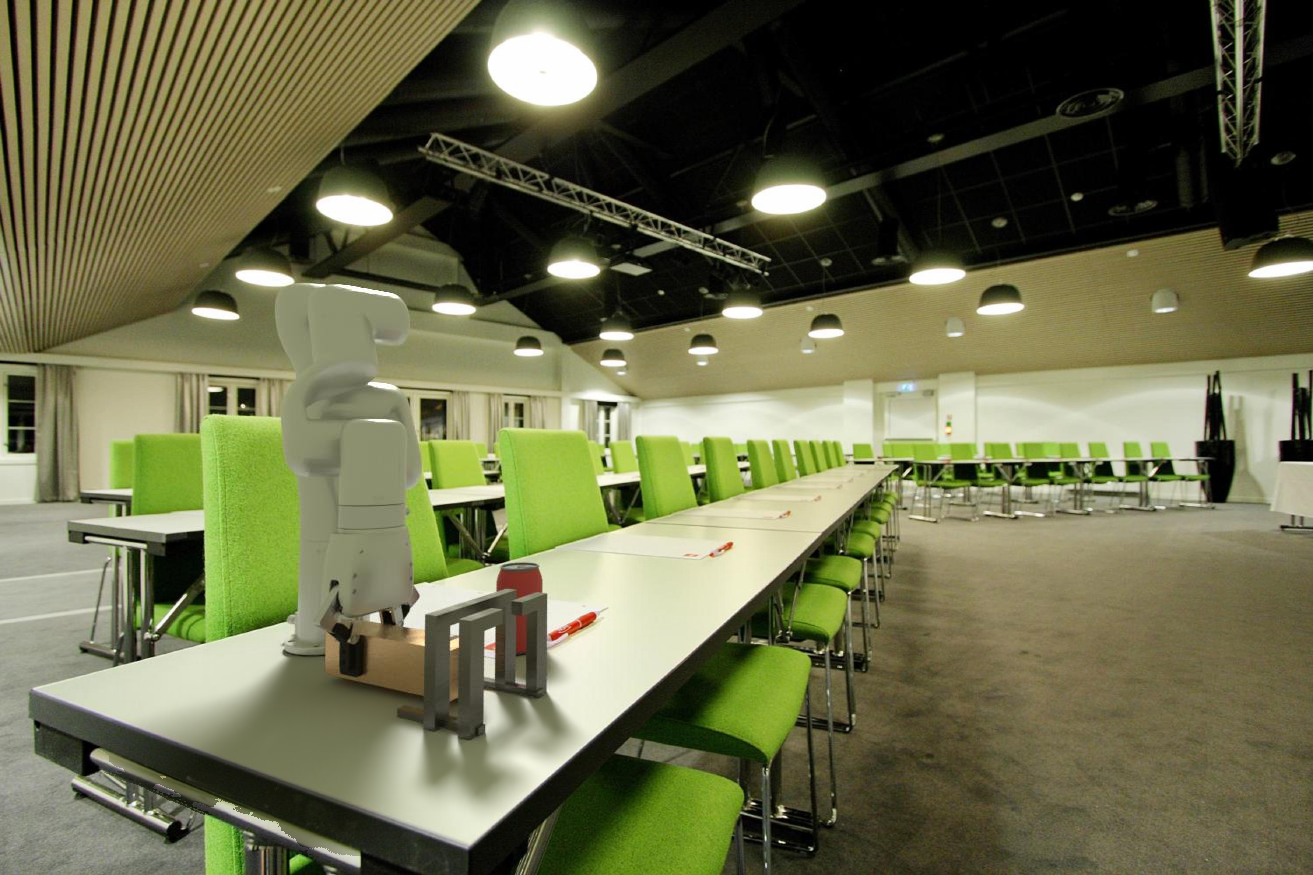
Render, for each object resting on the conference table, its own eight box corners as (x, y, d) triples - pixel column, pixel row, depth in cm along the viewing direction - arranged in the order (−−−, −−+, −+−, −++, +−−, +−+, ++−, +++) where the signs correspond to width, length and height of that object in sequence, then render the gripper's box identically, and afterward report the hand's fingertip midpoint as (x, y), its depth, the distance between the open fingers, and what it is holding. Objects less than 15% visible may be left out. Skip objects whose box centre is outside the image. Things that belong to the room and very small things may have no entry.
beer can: (530, 657, 80) (531, 570, 81) (486, 654, 82) (488, 568, 82) (549, 643, 87) (549, 562, 87) (508, 640, 88) (508, 560, 88)
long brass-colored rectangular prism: (324, 673, 71) (325, 628, 71) (357, 662, 75) (358, 619, 76) (449, 701, 63) (450, 650, 63) (478, 686, 67) (479, 638, 67)
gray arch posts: (389, 720, 61) (391, 609, 61) (474, 677, 73) (476, 585, 73) (471, 740, 56) (472, 621, 57) (548, 691, 68) (549, 593, 69)
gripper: (405, 512, 81) (402, 643, 81) (285, 524, 66) (281, 687, 65) (446, 514, 78) (444, 651, 77) (330, 527, 63) (326, 698, 62)
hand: (369, 666), depth 71 cm, fingers closed on long brass-colored rectangular prism, 4 cm apart
